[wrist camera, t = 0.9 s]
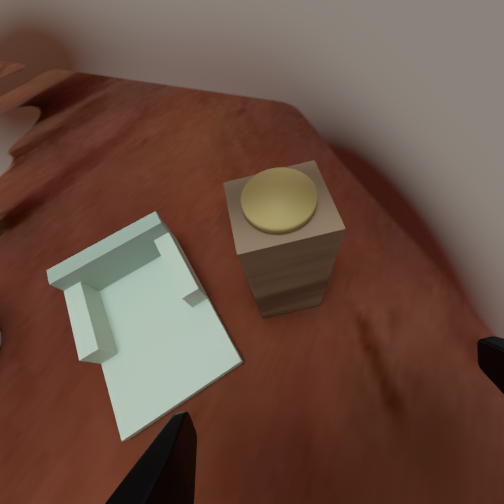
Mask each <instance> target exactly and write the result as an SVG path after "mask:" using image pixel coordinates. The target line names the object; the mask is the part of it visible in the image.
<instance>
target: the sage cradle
mask: <svg viewBox="0 0 504 504" xmlns="http://www.w3.org/2000/svg"><path fill="white" fill-rule="evenodd" d="M47 275H48V280H49V285H52V286H54V287H56V288H59V289H61V290H63V291H64V294H65V299H66V303H67V308H68V312H69V317H70V321H71V326H72V330H73V335H74V339H75V343H76V348H77V352H78V357H79V361H85V362H92V363H100V364H101V365H102V369H103V372H104V376H105V380H106V384H107V387H108V391H109V395H110V399H111V403H112V406H113V410H114V414H115V418H116V421H117V425H118V429H119V433H120V437H121V440H122V441H125V440H128V439H130V438H132V437H133V436H135V435H136V434H138V433H139V432H141V431H142V430H144V429H145V428H147V427H148V426H150V425H151V424H153V423H154V422H156V421H157V420H159V419H160V418H162V417H163V416H164V415H166V414H167V413H169V412H170V411H172V410H173V409H175V408H176V407H178V406H179V405H181V404H182V403H184V402H185V401H187V400H188V399H190V398H191V397H193V396H194V395H196V394H197V393H199V392H200V391H202V390H203V389H205V388H206V387H208V386H209V385H211V384H212V383H214V382H215V381H217V380H218V379H220V378H221V377H223V376H224V375H226V374H227V373H229V372H230V371H231V370H233V369H234V368H236V367H237V366H239V365H240V364H242V363H243V360H242V358H241V357H240V355H239V353H238V351H237V349H236V347H235V346H234V344H233V342H232V340H231V338H230V336H229V334H228V333H227V331H226V329H225V327H224V325H223V323H222V322H221V320H220V318H219V316H218V314H217V312H216V310H215V309H214V307H213V305H212V303H211V301H210V299H209V298H208V296H207V294H206V292H205V290H204V288H203V287H202V285H201V283H200V281H199V279H198V277H197V275H196V274H195V272H194V270H193V268H192V266H191V264H190V263H189V261H188V259H187V257H186V255H185V253H184V251H183V250H182V248H181V246H180V244H179V242H178V240H177V239H176V238H175V236H174V235H173V234H172V232H171V231H170V230H169V229H168V227H167V226H166V225H165V223H164V222H163V221H162V219H161V218H160V217H159V215H158V214H157V213H156V211H155V212H153V213H151V214H149V215H148V216H146V217H144V218H142V219H140V220H138V221H136V222H135V223H133V224H131V225H129V226H127V227H125V228H124V229H122V230H120V231H118V232H116V233H114V234H113V235H111V236H109V237H107V238H105V239H103V240H102V241H100V242H98V243H96V244H94V245H92V246H90V247H89V248H87V249H85V250H83V251H81V252H79V253H78V254H76V255H74V256H72V257H70V258H68V259H67V260H65V261H63V262H61V263H59V264H57V265H55V266H54V267H52V268H50V269H48V270H47Z"/></svg>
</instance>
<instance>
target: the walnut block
mask: <svg viewBox="0 0 504 504" xmlns="http://www.w3.org/2000/svg"><path fill="white" fill-rule="evenodd" d="M223 184H224V189H225V195H226V200H227V205H228V210H229V215H230V221H231V226H232V231H233V236H234V241H235V247H236V252H237V256H238V258H239V261H240V263H241V266H242V268H243V271H244V273H245V276H246V278H247V281H248V283H249V286H250V288H251V291H252V293H253V295H254V298H255V300H256V303H257V305H258V308H259V310H260V313H261V315H262V318H263V319H264V318H268V317H272V316H277V315H281V314H285V313H290V312H294V311H298V310H302V309H307V308H311V307H315V306H320V304H321V301H322V298H323V295H324V292H325V289H326V286H327V283H328V280H329V277H330V274H331V271H332V268H333V265H334V262H335V259H336V256H337V253H338V250H339V247H340V244H341V241H342V238H343V235H344V232H345V226H344V224H343V222H342V220H341V218H340V215H339V213H338V211H337V209H336V207H335V204H334V202H333V200H332V198H331V196H330V193H329V191H328V189H327V187H326V185H325V182H324V180H323V178H322V176H321V173H320V171H319V169H318V167H317V165H316V162H315V160H313V161H309V162H305V163H301V164H297V165H293V166H289V167H285V168H272V169H268V170H265V171H262V172H260V173H258V174H257V175H253V176H249V177H244V178H240V179H236V180H232V181H228V182H224V183H223Z"/></svg>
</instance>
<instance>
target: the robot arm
mask: <svg viewBox="0 0 504 504" xmlns="http://www.w3.org/2000/svg"><path fill="white" fill-rule="evenodd" d="M477 351H478V364H479V366H480V368H481V370H482V371H483V372H484V373H485V374H486V375H487V377H488V378H489V379H490V380H491V381H492V382H493V383H494V384H495V385H496V386H497V387H498V388H499V389H500V391H501V392H502V393H503V394H504V339H503V338H499V337H495V336H491V337H487V338H483V339H480V340H479V341H478V342H477ZM196 449H197V434H196V430H195V428H194V425H193V422H192V420H191V417H190V415H189V413H188V412H187V411H184V412H180V413H176V414H174V415H173V416H172V417H171V418H170V420H169V421H168V422H167V424H166V425H165V426H164V427H163V429H162V430H161V431H160V433H159V434H158V435H157V437H156V438H155V439H154V441H153V442H152V443H151V444H150V446H149V447H148V448H147V450H146V451H145V452H144V454H143V455H142V456H141V457H140V459H139V460H138V461H137V463H136V464H135V465H134V467H133V468H132V469H131V471H130V472H129V473H128V474H127V476H126V477H125V478H124V480H123V481H122V482H121V484H120V485H119V486H118V487H117V489H116V490H115V491H114V493H113V494H112V495H111V497H110V498H109V499H108V501H107V502H106V503H105V504H194V492H195V471H196Z"/></svg>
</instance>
